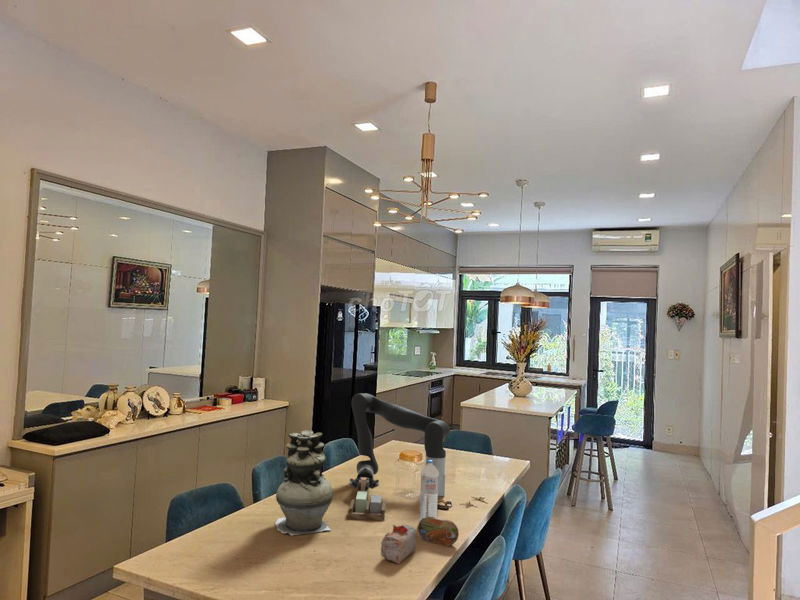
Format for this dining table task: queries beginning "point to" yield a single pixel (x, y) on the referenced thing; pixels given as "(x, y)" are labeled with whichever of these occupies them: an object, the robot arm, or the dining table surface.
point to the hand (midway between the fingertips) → (362, 488)
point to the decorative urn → (304, 486)
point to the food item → (398, 543)
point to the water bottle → (428, 491)
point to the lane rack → (366, 514)
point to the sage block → (361, 498)
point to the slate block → (375, 504)
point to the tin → (438, 531)
